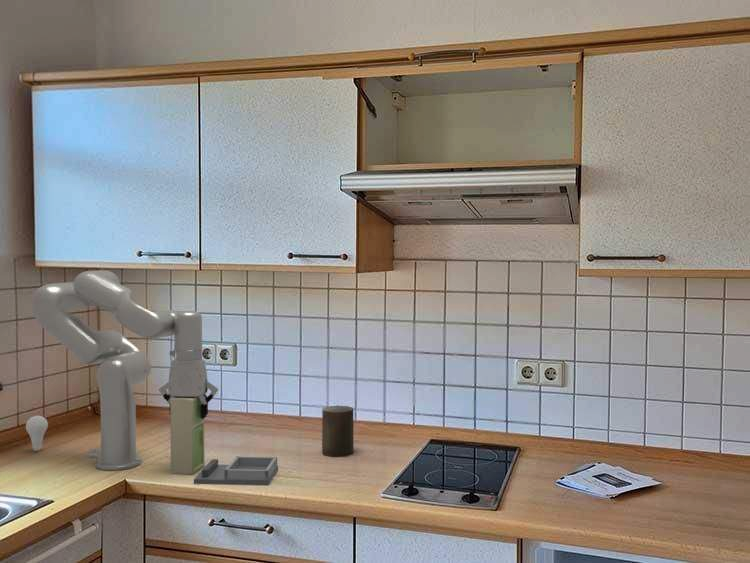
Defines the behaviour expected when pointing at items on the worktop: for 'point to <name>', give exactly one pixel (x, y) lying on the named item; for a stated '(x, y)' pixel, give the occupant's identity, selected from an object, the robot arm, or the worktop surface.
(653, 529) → the worktop surface
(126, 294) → the robot arm
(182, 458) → the beige tall block
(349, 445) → the pillar candle
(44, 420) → the lightbulb
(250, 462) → the tray
